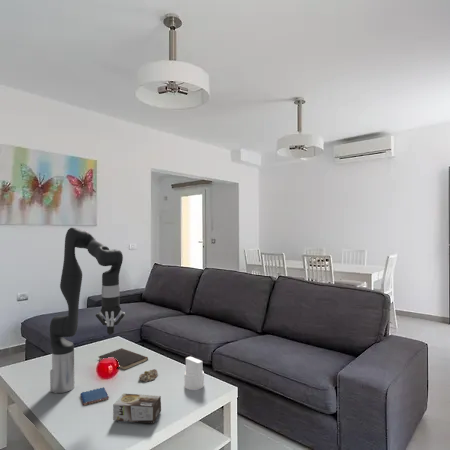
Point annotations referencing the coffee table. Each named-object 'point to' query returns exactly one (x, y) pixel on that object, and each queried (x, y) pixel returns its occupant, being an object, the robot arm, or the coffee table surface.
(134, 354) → the hardcover book
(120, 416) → the coffee box
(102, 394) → the woven mat
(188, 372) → the cylinder with rectangular tab
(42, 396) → the coffee table surface
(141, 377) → the mineral rock
